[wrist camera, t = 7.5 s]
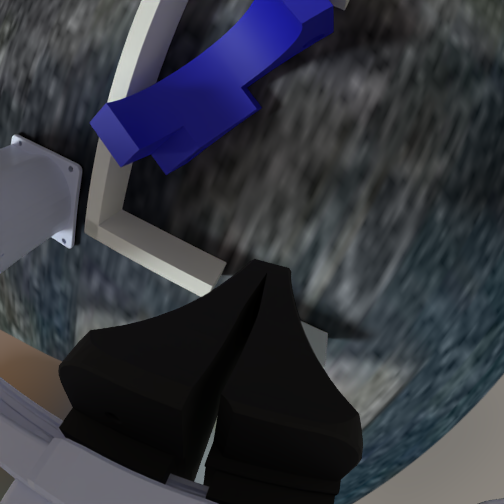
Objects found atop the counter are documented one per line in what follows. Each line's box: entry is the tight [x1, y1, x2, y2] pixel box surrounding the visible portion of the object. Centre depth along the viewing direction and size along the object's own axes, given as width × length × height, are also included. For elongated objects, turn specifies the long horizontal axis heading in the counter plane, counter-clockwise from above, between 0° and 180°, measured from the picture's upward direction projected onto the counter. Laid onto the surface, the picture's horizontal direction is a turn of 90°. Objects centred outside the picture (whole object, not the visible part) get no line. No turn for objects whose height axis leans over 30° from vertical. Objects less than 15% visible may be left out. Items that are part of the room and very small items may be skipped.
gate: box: [301, 321, 328, 368], centre depth 22 cm, size 1×8×4 cm, turn 67°
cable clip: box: [90, 0, 334, 175], centre depth 14 cm, size 12×4×6 cm, turn 126°
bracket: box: [84, 0, 350, 297], centre depth 17 cm, size 10×20×3 cm, turn 157°
